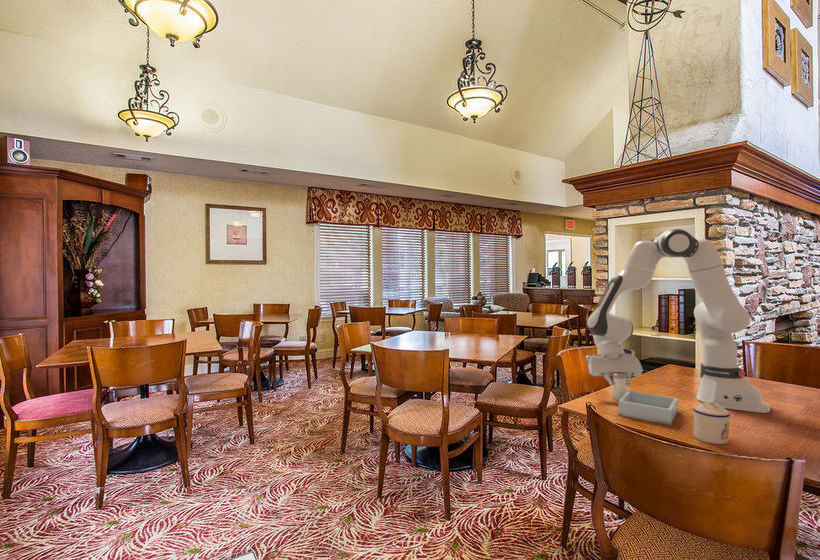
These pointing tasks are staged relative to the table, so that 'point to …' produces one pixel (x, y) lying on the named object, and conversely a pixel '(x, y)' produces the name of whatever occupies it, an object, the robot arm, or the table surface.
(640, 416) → the serving bin
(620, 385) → the dressing jar
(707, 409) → the teacup with lid
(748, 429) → the table surface
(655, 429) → the table surface
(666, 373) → the table surface
